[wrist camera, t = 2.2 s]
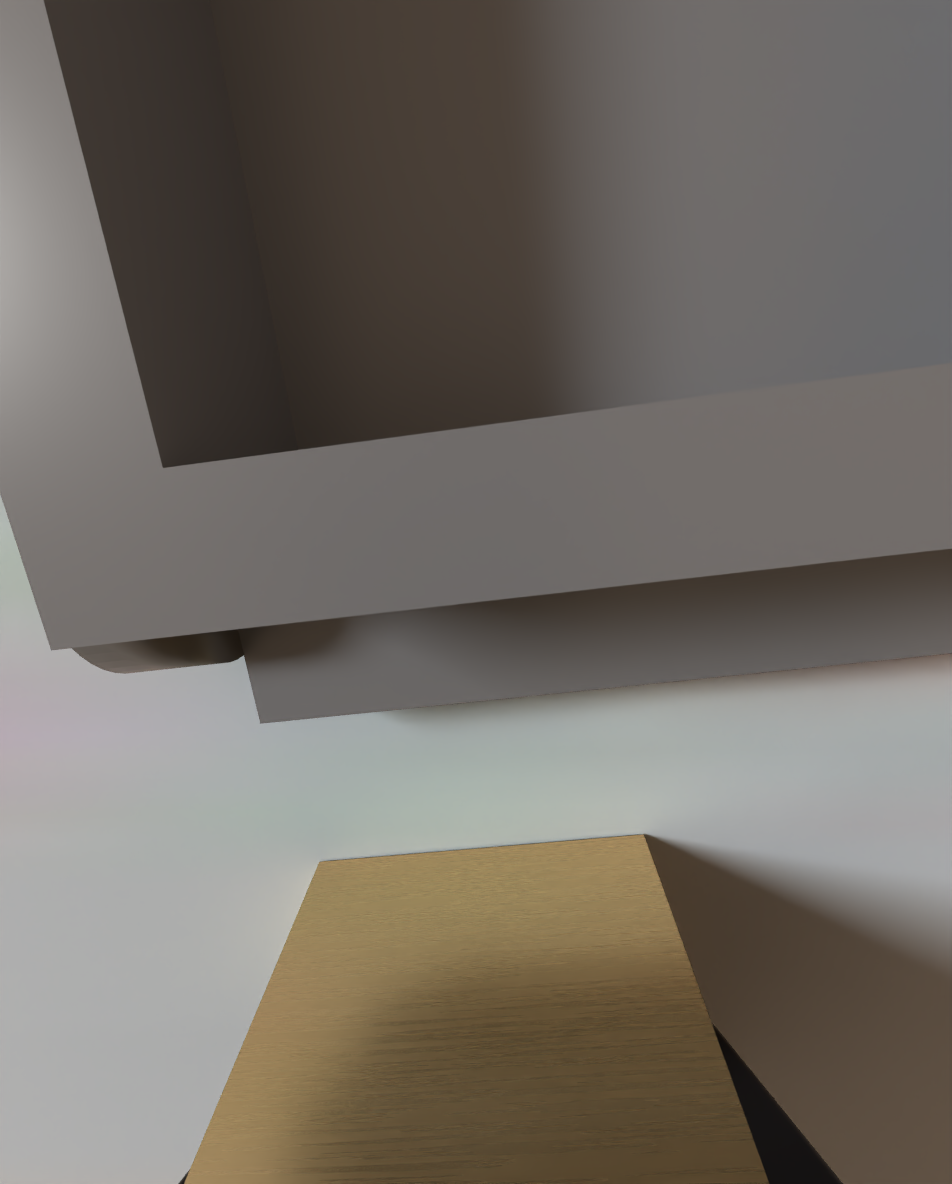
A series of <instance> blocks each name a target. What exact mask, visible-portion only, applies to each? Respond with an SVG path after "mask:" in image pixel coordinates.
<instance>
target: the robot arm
mask: <svg viewBox="0 0 952 1184" xmlns="http://www.w3.org/2000/svg"><path fill="white" fill-rule="evenodd" d="M711 1023H712V1022H711ZM712 1026H713V1028H714V1031H715V1034H716V1037H717V1040H718V1042H719V1045H720V1048H721V1051H722V1053H723V1056H724V1059H725V1062H726V1065H727V1067H728V1070H729V1073H730V1076H731V1078H732V1081H733V1084H734V1087H735V1090H736V1092H737V1095H738V1098H739V1101H740V1104H741V1106H742V1109H743V1112H744V1115H745V1117H746V1120H747V1123H748V1126H749V1129H750V1131H751V1134H752V1137H753V1140H754V1142H755V1145H756V1148H757V1151H758V1154H759V1156H760V1159H761V1162H762V1165H763V1167H764V1170H765V1173H766V1176H767V1179H768V1181H769V1184H843V1183H842V1182H841V1181H840V1179H839V1178H838V1177H837V1176H836V1175H835V1173H834V1172H833V1171H832V1170H831V1168H830V1167H829V1166H828V1165H827V1163H826V1162H825V1161H824V1160H823V1159H822V1157H821V1156H820V1155H819V1154H818V1152H817V1151H816V1150H815V1149H814V1147H813V1146H812V1145H811V1144H810V1143H809V1141H808V1140H807V1139H806V1138H805V1136H804V1135H803V1134H802V1133H801V1131H800V1130H799V1129H798V1128H797V1127H796V1125H795V1124H794V1123H793V1122H792V1120H791V1119H790V1118H789V1117H788V1115H787V1114H786V1113H785V1112H784V1111H783V1109H782V1108H781V1107H780V1106H779V1104H778V1103H777V1102H776V1101H775V1099H774V1098H773V1097H772V1096H771V1094H770V1093H769V1092H768V1091H767V1090H766V1088H765V1087H764V1086H763V1085H762V1083H761V1082H760V1081H759V1080H758V1078H757V1077H756V1076H755V1075H754V1074H753V1072H752V1071H751V1070H750V1069H749V1067H748V1066H747V1065H746V1064H745V1062H744V1061H743V1060H742V1059H741V1058H740V1056H739V1055H738V1054H737V1053H736V1051H735V1050H734V1049H733V1048H732V1046H731V1045H730V1044H729V1043H728V1042H727V1040H726V1039H725V1038H724V1037H723V1035H722V1034H721V1033H720V1032H719V1030H718V1029H717V1028H716V1027H715V1026H714V1024H713V1023H712ZM189 1171H190V1170H189ZM189 1171H188V1172H187V1174H186V1175H185V1176H184V1177H183V1179H182V1180H181V1181H180V1183H179V1184H184V1183H185V1180H186V1178H187V1176H188V1173H189Z"/></svg>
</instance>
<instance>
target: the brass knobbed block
mask: <svg viewBox="0 0 952 1184" xmlns="http://www.w3.org/2000/svg"><path fill="white" fill-rule="evenodd" d="M184 1184H769V1181H768V1179H767V1176H766V1173H765V1170H764V1167H763V1165H762V1162H761V1159H760V1156H759V1154H758V1151H757V1148H756V1145H755V1142H754V1140H753V1137H752V1134H751V1131H750V1129H749V1126H748V1123H747V1120H746V1117H745V1115H744V1112H743V1109H742V1106H741V1104H740V1101H739V1098H738V1095H737V1092H736V1090H735V1087H734V1084H733V1081H732V1078H731V1076H730V1073H729V1070H728V1067H727V1065H726V1062H725V1059H724V1056H723V1053H722V1051H721V1048H720V1045H719V1042H718V1040H717V1037H716V1034H715V1031H714V1028H713V1026H712V1023H711V1020H710V1017H709V1015H708V1012H707V1009H706V1006H705V1003H704V1001H703V998H702V995H701V992H700V990H699V987H698V984H697V981H696V978H695V976H694V973H693V970H692V967H691V965H690V962H689V959H688V956H687V953H686V951H685V948H684V945H683V942H682V940H681V937H680V934H679V931H678V928H677V926H676V923H675V920H674V917H673V915H672V912H671V909H670V906H669V903H668V901H667V898H666V895H665V892H664V890H663V887H662V884H661V881H660V878H659V876H658V873H657V870H656V867H655V865H654V862H653V859H652V856H651V853H650V851H649V848H648V845H647V842H646V840H645V837H644V835H633V836H621V837H609V838H597V839H585V840H573V841H561V842H550V843H538V844H526V845H514V846H502V847H490V848H478V849H466V850H455V851H443V852H431V853H419V854H407V855H395V856H383V857H371V858H359V859H348V860H336V861H324V862H319V864H318V867H317V869H316V871H315V874H314V876H313V878H312V881H311V883H310V886H309V888H308V890H307V893H306V895H305V897H304V900H303V902H302V905H301V907H300V909H299V912H298V914H297V916H296V919H295V921H294V924H293V926H292V928H291V931H290V933H289V935H288V938H287V940H286V943H285V945H284V947H283V950H282V952H281V954H280V957H279V959H278V962H277V964H276V966H275V969H274V971H273V974H272V976H271V978H270V981H269V983H268V985H267V988H266V990H265V993H264V995H263V997H262V1000H261V1002H260V1004H259V1007H258V1009H257V1012H256V1014H255V1016H254V1019H253V1021H252V1023H251V1026H250V1028H249V1031H248V1033H247V1035H246V1038H245V1040H244V1042H243V1045H242V1047H241V1050H240V1052H239V1054H238V1057H237V1059H236V1061H235V1064H234V1066H233V1069H232V1071H231V1073H230V1076H229V1078H228V1081H227V1083H226V1085H225V1088H224V1090H223V1092H222V1095H221V1097H220V1100H219V1102H218V1104H217V1107H216V1109H215V1111H214V1114H213V1116H212V1119H211V1121H210V1123H209V1126H208V1128H207V1130H206V1133H205V1135H204V1138H203V1140H202V1142H201V1145H200V1147H199V1149H198V1152H197V1154H196V1157H195V1159H194V1161H193V1164H192V1166H191V1168H190V1171H189V1173H188V1176H187V1178H186V1180H185V1183H184Z"/></svg>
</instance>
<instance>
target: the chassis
mask: <svg viewBox="0 0 952 1184" xmlns="http://www.w3.org/2000/svg"><path fill="white" fill-rule="evenodd" d="M0 494H1V497H2V500H3V503H4V506H5V509H6V512H7V515H8V519H9V522H10V525H11V528H12V531H13V534H14V537H15V540H16V543H17V546H18V549H19V552H20V555H21V559H22V562H23V565H24V568H25V571H26V574H27V577H28V580H29V583H30V586H31V589H32V592H33V595H34V598H35V602H36V605H37V608H38V611H39V614H40V617H41V620H42V623H43V626H44V629H45V632H46V635H47V638H48V641H49V645H50V648H51V650H58V649H67V648H72V649H73V650H74V651H75V652H76V653H78V654H79V655H80V656H81V657H82V658H84V659H85V660H87V661H88V662H90V663H91V664H93V665H95V666H97V667H99V668H101V669H104V670H107V671H111V672H114V673H135V672H144V671H153V670H162V669H172V668H181V667H190V666H199V665H208V664H217V663H227V662H232V661H234V660H237V659H239V658H240V657H242V656H243V655H244V657H245V661H246V665H247V669H248V674H249V678H250V682H251V686H252V690H253V694H254V699H255V703H256V707H257V711H258V715H259V719H260V724H261V723H271V722H280V721H290V720H300V719H310V718H320V717H330V716H340V715H349V714H359V713H369V712H379V711H389V710H399V709H409V708H419V707H428V706H438V705H448V704H458V703H468V702H478V701H488V700H497V699H507V698H517V697H527V696H537V695H547V694H557V693H566V692H576V691H586V690H596V689H606V688H616V687H626V686H636V685H645V684H655V683H665V682H675V681H685V680H695V679H705V678H714V677H724V676H734V675H744V674H754V673H764V672H774V671H783V670H793V669H803V668H813V667H823V666H833V665H843V664H853V663H862V662H872V661H882V660H892V659H902V658H912V657H922V656H931V655H941V654H951V653H952V0H0Z"/></svg>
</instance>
